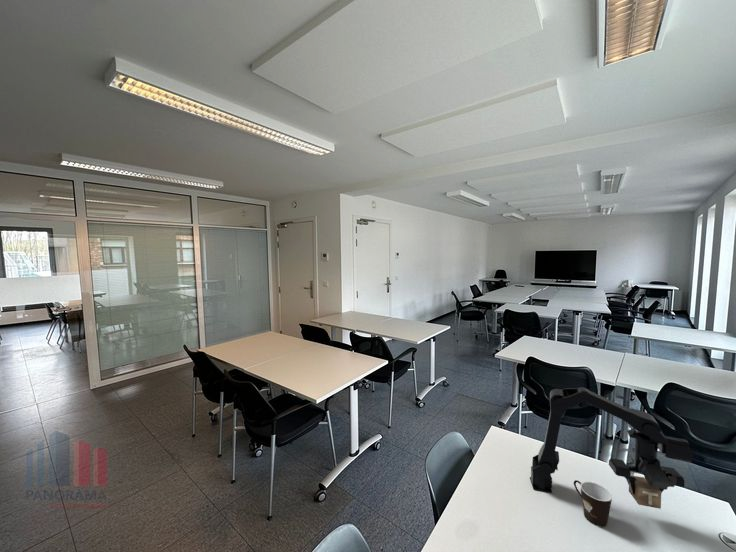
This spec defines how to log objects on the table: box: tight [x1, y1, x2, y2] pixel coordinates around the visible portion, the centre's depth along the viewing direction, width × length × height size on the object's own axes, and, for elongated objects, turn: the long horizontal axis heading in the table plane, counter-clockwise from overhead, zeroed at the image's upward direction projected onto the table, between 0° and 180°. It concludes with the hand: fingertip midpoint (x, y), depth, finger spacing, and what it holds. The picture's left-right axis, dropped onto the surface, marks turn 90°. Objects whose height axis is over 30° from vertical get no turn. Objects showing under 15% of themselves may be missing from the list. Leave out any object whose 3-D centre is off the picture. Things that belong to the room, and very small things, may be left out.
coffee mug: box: [573, 479, 613, 528], centre depth 102 cm, size 12×9×10 cm
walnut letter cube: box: [628, 475, 662, 510], centre depth 100 cm, size 6×6×6 cm
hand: (644, 495), depth 100 cm, fingers closed on walnut letter cube, 6 cm apart
